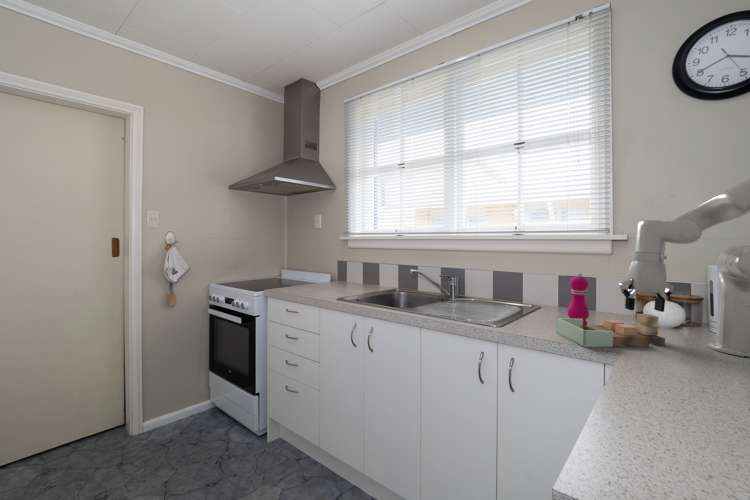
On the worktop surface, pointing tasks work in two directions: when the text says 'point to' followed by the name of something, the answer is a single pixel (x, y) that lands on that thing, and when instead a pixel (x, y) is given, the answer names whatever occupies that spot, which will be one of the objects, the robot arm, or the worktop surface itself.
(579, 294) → the pepper mill
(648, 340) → the board
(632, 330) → the tile
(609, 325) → the tile
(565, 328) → the tray
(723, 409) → the worktop surface
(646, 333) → the scraper
